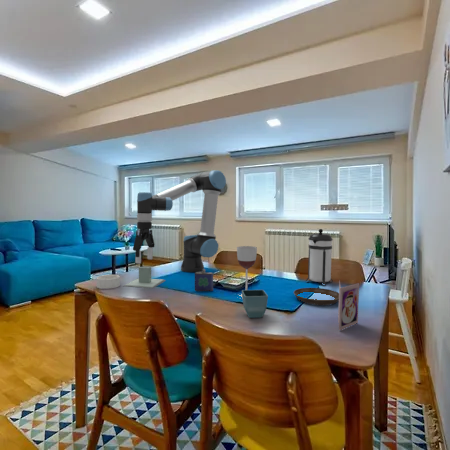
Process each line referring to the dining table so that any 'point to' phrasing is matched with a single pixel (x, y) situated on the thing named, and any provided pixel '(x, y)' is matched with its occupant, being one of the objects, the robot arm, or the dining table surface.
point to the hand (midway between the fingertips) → (144, 261)
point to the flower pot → (254, 302)
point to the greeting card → (348, 305)
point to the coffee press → (320, 257)
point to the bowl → (108, 281)
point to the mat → (145, 287)
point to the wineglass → (246, 258)
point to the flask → (203, 281)
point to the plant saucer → (316, 302)
